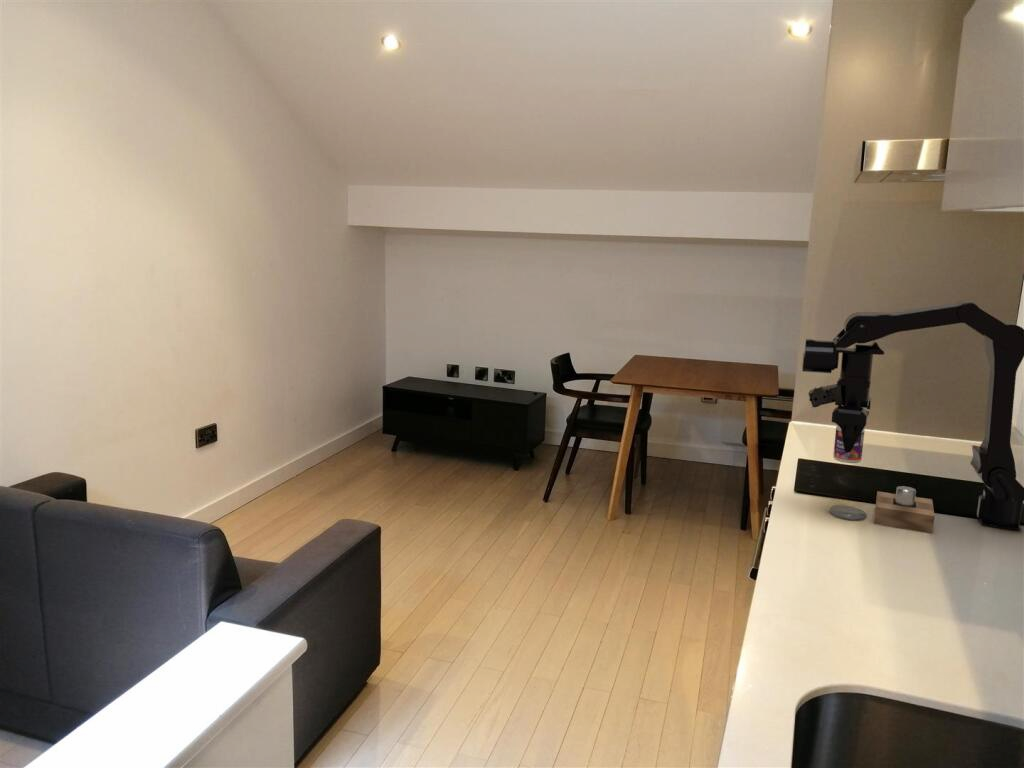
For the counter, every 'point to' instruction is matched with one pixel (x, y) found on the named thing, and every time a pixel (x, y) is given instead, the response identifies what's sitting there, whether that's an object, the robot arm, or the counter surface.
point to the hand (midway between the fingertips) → (848, 448)
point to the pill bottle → (847, 456)
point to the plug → (905, 496)
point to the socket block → (904, 513)
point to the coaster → (847, 512)
